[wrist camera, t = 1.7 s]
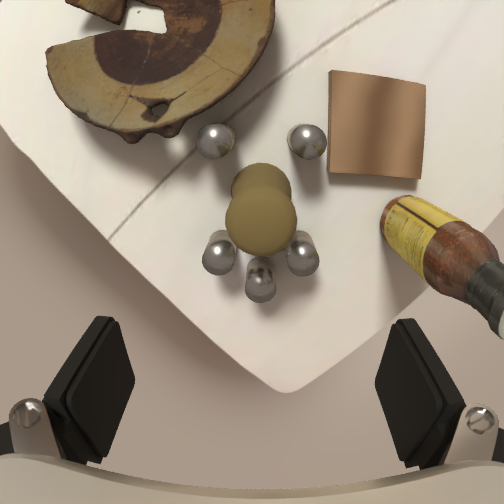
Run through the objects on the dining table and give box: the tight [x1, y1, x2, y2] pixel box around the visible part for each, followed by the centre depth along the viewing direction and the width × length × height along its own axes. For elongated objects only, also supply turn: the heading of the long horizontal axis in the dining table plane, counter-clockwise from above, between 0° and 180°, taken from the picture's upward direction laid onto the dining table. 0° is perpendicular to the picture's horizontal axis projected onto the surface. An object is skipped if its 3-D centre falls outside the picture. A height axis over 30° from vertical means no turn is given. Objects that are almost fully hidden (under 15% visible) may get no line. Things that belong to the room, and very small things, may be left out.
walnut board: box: [327, 70, 426, 179], centre depth 28 cm, size 10×10×2 cm
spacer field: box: [196, 124, 327, 303], centre depth 30 cm, size 11×17×4 cm, turn 0°
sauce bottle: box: [380, 195, 504, 339], centre depth 23 cm, size 6×6×20 cm
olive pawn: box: [225, 163, 297, 256], centre depth 27 cm, size 6×6×11 cm
